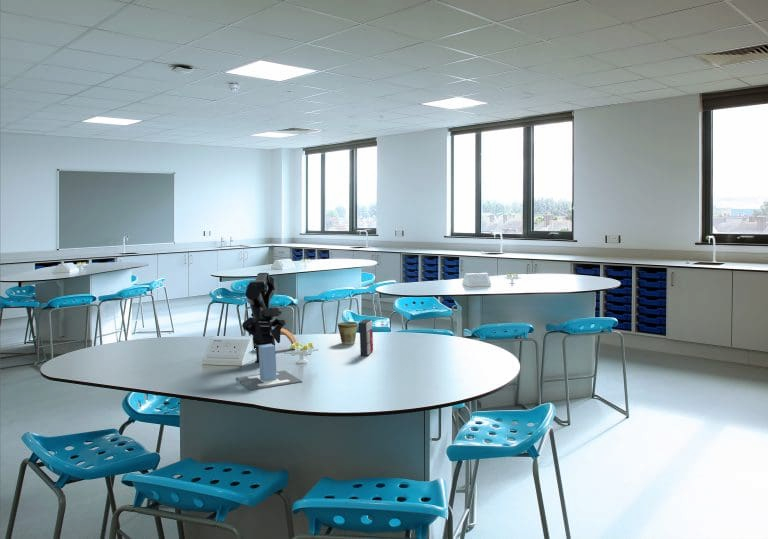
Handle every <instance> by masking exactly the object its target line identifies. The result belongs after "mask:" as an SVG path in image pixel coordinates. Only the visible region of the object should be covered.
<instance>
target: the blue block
mask: <svg viewBox="0 0 768 539" xmlns="http://www.w3.org/2000/svg"><path fill="white" fill-rule="evenodd" d="M276 353H277V352H276V345H275V346H274V345H272V344H266V345H259V362H258V363H259V365H258V366H259V374H260V379H261V380H263V381H270V380H276V379H277V375H276V372H277V356H276Z"/></svg>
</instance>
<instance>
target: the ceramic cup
mask: <svg viewBox="0 0 768 539" xmlns="http://www.w3.org/2000/svg"><path fill="white" fill-rule="evenodd" d="M358 323H359V322H357V321H342V322H338V323H337V327H338V333H339V336H340V337H339V338H340V340H341V341H340V342H341V344H342V345H354V344H356V337H357V336H356V335H357V331H358Z"/></svg>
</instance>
